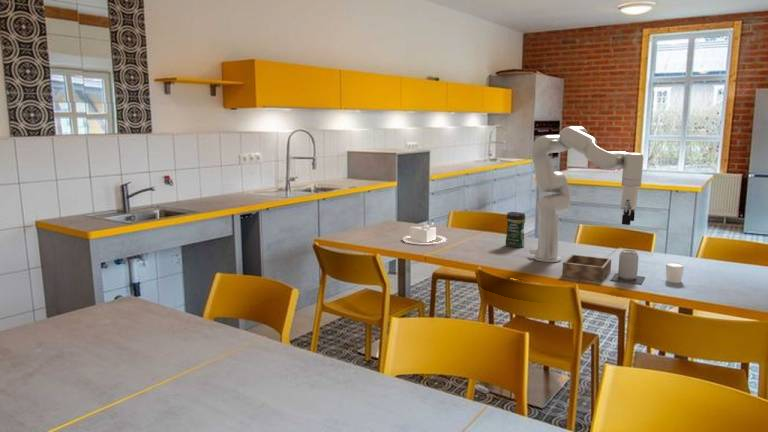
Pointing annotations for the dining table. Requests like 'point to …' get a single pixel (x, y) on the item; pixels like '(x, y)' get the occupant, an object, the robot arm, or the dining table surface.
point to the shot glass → (674, 272)
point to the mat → (635, 281)
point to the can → (628, 264)
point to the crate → (587, 267)
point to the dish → (423, 235)
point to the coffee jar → (515, 229)
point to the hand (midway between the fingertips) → (627, 222)
